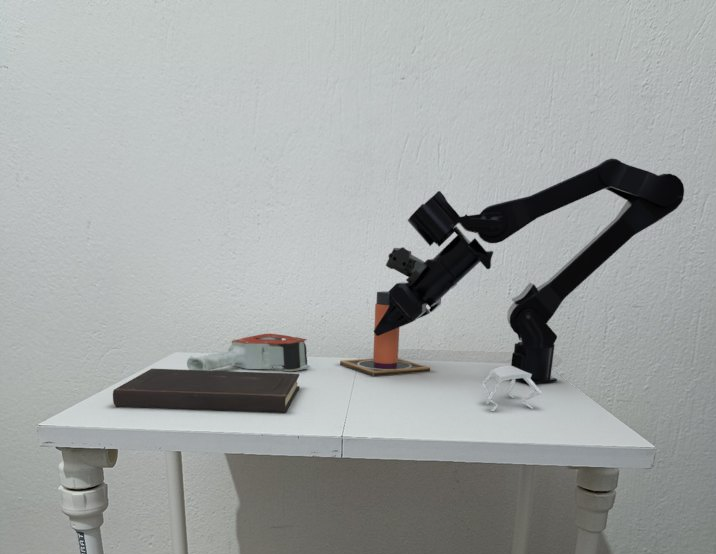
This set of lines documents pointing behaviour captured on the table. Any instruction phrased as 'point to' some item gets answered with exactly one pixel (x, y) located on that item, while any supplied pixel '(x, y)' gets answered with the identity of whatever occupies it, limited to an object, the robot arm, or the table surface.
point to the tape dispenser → (257, 354)
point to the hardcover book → (209, 390)
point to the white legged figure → (509, 374)
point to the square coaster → (368, 368)
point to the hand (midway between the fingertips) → (382, 330)
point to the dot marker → (385, 337)
